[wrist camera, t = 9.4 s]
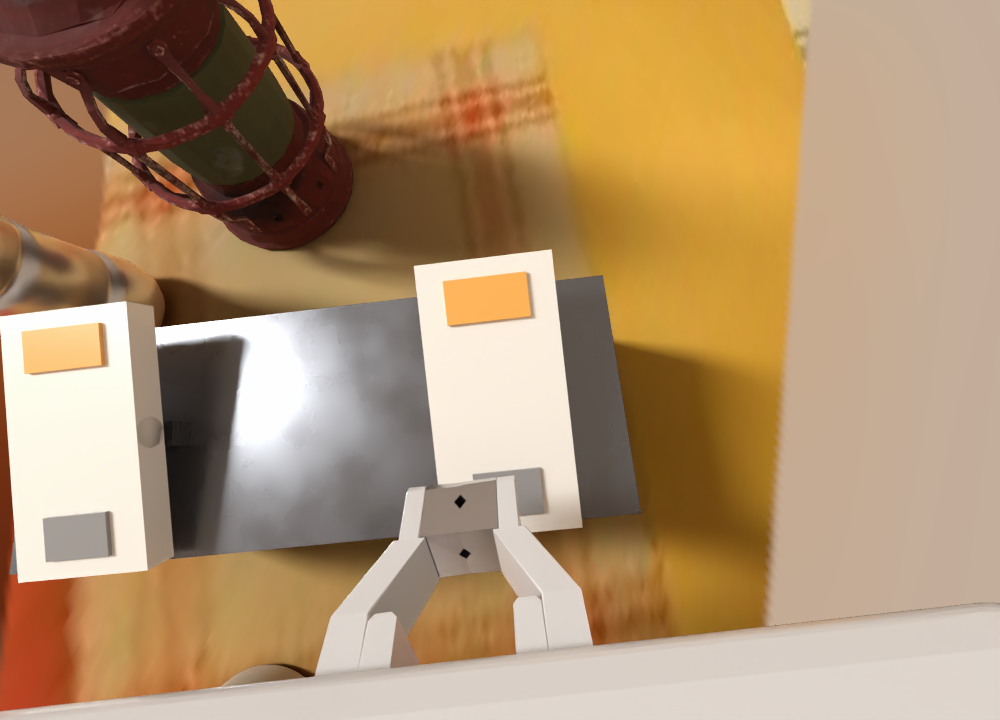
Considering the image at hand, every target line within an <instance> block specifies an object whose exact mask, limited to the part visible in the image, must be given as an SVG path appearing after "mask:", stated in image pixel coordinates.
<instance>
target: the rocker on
mask: <svg viewBox="0 0 1000 720" xmlns="http://www.w3.org/2000/svg"><path fill="white" fill-rule="evenodd" d="M414 272H415V281H416V290H417V299H418V308H419V317H420V326H421V335H422V344H423V353H424V362H425V372H426V381H427V390H428V399H429V408H430V417H431V426H432V435H433V444H434V453H435V462H436V471H437V480H438V485H440V484H451V483H462V482H465V481H472V480H480V479H488V478H495V477H496V478H497V477H505V476H513V475H514V476H515V481H516V488H517V495H518V503H519V510H520V517H521V525H522V526H526V527H527V528H528V529H529V530H530V532H541V531H551V530H562V529H572V528H583V526H582V518H581V509H580V500H579V491H578V482H577V473H576V464H575V455H574V446H573V437H572V428H571V419H570V410H569V401H568V392H567V383H566V375H565V366H564V357H563V348H562V339H561V330H560V321H559V312H558V303H557V294H556V285H555V276H554V267H553V258H552V249H551V250H543V251H534V252H526V253H518V254H510V255H501V256H493V257H485V258H476V259H468V260H460V261H452V262H443V263H435V264H427V265H418V266H414Z"/></svg>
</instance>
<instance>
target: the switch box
mask: <svg viewBox="0 0 1000 720" xmlns="http://www.w3.org/2000/svg"><path fill="white" fill-rule="evenodd" d="M555 285H556V294H557V303H558V312H559V321H560V330H561V339H562V348H563V357H564V366H565V375H566V383H567V392H568V401H569V410H570V419H571V428H572V437H573V446H574V455H575V464H576V473H577V482H578V491H579V500H580V509H581V518H582V519H589V518H600V517H610V516H620V515H631V514H641V509H640V503H639V497H638V491H637V484H636V478H635V472H634V466H633V460H632V454H631V447H630V441H629V435H628V429H627V423H626V416H625V410H624V404H623V398H622V392H621V386H620V379H619V373H618V367H617V361H616V355H615V349H614V342H613V336H612V330H611V324H610V318H609V311H608V305H607V299H606V293H605V287H604V281H603V275H601V276H592V277H584V278H575V279H567V280H558V281H555ZM155 332H156V344H157V356H158V368H159V380H160V392H161V404H162V416H163V429H164V441H165V453H166V465H167V477H168V489H169V501H170V513H171V525H172V537H173V550H174V557H172V558H170V559H176V558H186V557H197V556H207V555H217V554H228V553H238V552H248V551H259V550H269V549H279V548H290V547H300V546H310V545H321V544H331V543H341V542H352V541H362V540H372V539H383V538H393V537H399V534H400V528H401V522H402V516H403V511H404V505H405V499H406V493H407V491H408V489H409V488H412V487H421V486H430V485H438V480H437V471H436V462H435V453H434V444H433V435H432V426H431V417H430V408H429V399H428V390H427V381H426V372H425V362H424V353H423V344H422V335H421V326H420V317H419V308H418V299H417V297H414V298H406V299H397V300H389V301H380V302H372V303H363V304H355V305H346V306H338V307H329V308H321V309H312V310H304V311H295V312H287V313H278V314H270V315H261V316H253V317H244V318H236V319H227V320H219V321H210V322H202V323H194V324H185V325H177V326H168V327H160V328H155ZM11 574H18V572H17V558H16V543H15V536H14V544H13V552H12V560H11V568H10V575H11Z"/></svg>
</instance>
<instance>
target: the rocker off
mask: <svg viewBox="0 0 1000 720" xmlns="http://www.w3.org/2000/svg"><path fill="white" fill-rule="evenodd" d="M0 329H1V343H2V357H3V372H4V386H5V401H6V414H7V429H8V442H9V443H8V444H9V457H10V472H11V486H12V500H13V515H14V529H15V543H16V558H17V572H18V583H22V582H32V581H42V580H53V579H63V578H74V577H84V576H95V575H105V574H115V573H126V572H136V571H147V570H149V569H151V568H153V567H155V566H157V565H159V564H161V563H162V562H164V561H166V560H168V559H170V558H172V557H174V550H173V537H172V525H171V513H170V501H169V489H168V477H167V465H166V453H165V441H164V429H163V416H162V404H161V392H160V380H159V368H158V356H157V344H156V332H155V320H154V308H153V306H149V305H143V304H138V303H132V302H127V301H125V302H117V303H108V304H100V305H92V306H83V307H75V308H67V309H59V310H50V311H42V312H34V313H25V314H17V315H9V316H1V317H0Z"/></svg>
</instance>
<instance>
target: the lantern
mask: <svg viewBox="0 0 1000 720" xmlns="http://www.w3.org/2000/svg"><path fill="white" fill-rule="evenodd" d="M258 1H259V6H260V11H261V15H262V24H260V22H259V21H258V20H257V19H256V17H255V16H254V15H253V14H252V13H251V12H249V11H248V10H247V9H246V8H244V7H243V6H242V5H241V4H239V3H238V2H237V1H235V0H0V63H2V64H6V65H9V66H13V67H16V69H15V81H16V83H17V84H18V86H19V88H20V90H21V92H22V94H23V96H24V97H25V98H26V99H27V100H28V101H29V102H31V103H32V104H33V105H34V106H35V107H37V108H38V109H39V110H40V111H42V112H43V113H44V114H45V115H46V116H47V117H48V118H49V119H50V120H51V121H52V122H53V124H54V125H55V126H56V127H57V128H62V129H63V130H64V131H65V132H66V133H67V134H68V135H69V136H71V137H72V138H74V139H76V140H77V141H79V142H81V143H83V144H86V145H89V146H92V147H94V148H97V149H100V150H101V151H102V152H104V153H105V154H107V155H108V156H110V157H111V158H113V159H114V160H116V161H117V162H119V163H120V164H121V165H123V166H124V167H126V168H127V169H129V170H130V171H132V174H134V175H135V176H136V177H137V178H138V179H139V180H140V181H141V182H142V183H143V184H144V185H145V186H146V187H147V188H148V189H149V191H153V192H154V193H155V194H156V195H158V196H159V197H160V198H161V199H163V200H165V201H166V202H168V203H170V204H172V205H175V206H178V207H180V208H183V209H186V210H191V211H196V212H199V213H200V214H209V215H211V216H213V217H215V218H217V219H219V220H221V221H223V223H224V224H225V225H226V227H227V228H228V230H229V231H231V232H232V233H233V234H234V235H235V236H237V237H238V238H239V239H240V240H242V241H244V242H247V243H249V244H252V245H255V246H258V247H261V248H266V249H288V248H292V247H297V246H301V245H303V244H305V243H307V242H309V241H311V240H313V239H315V238H317V237H319V236H321V235H322V234H323V233H325V232H326V231H327V230H328V229H329V228H330V227H331V226H332V225H333V224H334V223H335V222H336V221H337V220H338V218H339V217H340V216H341V214H342V213H343V212H344V210H345V207H346V205H347V202H348V200H349V198H350V195H351V192H352V180H353V171H352V166H351V161H350V158H349V156H348V154H347V152H346V150H345V149H344V147H343V146H342V145H341V144H340V142H339V141H338V140H337V139H336V138H335V137H334V136H332V135H331V134H330V133H329V132H328V130H327V129H326V127H325V125H324V122H325V118H326V115H325V114H324V112H323V109H324V101H323V96H322V91H321V88H320V86H319V83H318V81H317V79H316V77H315V76H314V74H313V73H312V71H311V69H310V66H309V63H308V62H307V61H306V60H305V59H304V58H303V57H301V55H300V53H299V52H298V51H296V50H295V48H294V46H293V44H292V43H291V41H290V39H289V38H288V36H287V34H286V32H285V31H284V29H283V27H282V25H281V24H280V22H279V20H278V18H277V17H276V15H275V13H274V9H273V5H272V3H271V0H258ZM225 6H226V7H228V8H229V9H231V10H233V11H235V12H236V13H237V14H238V15H240V16H241V17H242V18H243V19H245V20H246V21H247V22H248V23H249V24H250V26H251V27H252V29H253V31H254V32H255V34H256V36H257V37H258V38H253V37H251V36H246V35H245V33H244V32H243V31H242V29H241V28H240V26H239V25H238V24H237V22H236V21H235V20H234V18H233V17H232V15H231V14H230V13H229V11H228V10H227V8H226V7H225ZM275 29H276V31H277V33H278V34H279V36H280V38H281V39H282V41H283V43H284V44H285V46H286V47H285V46H283V45H280V44H277V37H276V34H275V32H274V31H275ZM282 58H284V59H285V60H287V61H288V62H290V63H291V64H293V65H294V66H295V68H296V69H297V70H298V71H299V72H300V74H301V75H302V77H303V78H304V80H305V82H306V84H307V86H308V87H309V89H310V104H309V103H308V101H307V99H306V98H305V96H304V94H303V93H302V91H301V89H300V88H299V86H298V84H297V82H296V81H295V79H294V77H293V76H292V74H291V72H290V71H289V69H288V67H287V66H286V64H285V62H284V61H283V59H282ZM271 60H274V61H275V63H276V64H277V66H278V68H279V69H280V71H281V72H282V74H283V75H284V77H285V78H286V80H287V82H288V83H289V85H290V86H291V88H292V89H293V91H294V92H295V94H296V95H297V97H298V99H299V100H300V102H301V103H302V105H303V106H304V108H305V109H306V110H305V109H303V108H302V107H301V106H299V105H298V104H297V103H295V102H294V101H292V100H290V99H288V98H287V97H286V95H285V93H284V92H283V90H282V88H281V86H280V84H279V83H278V81H277V79H276V78H275V76H274V75H273V73H272V72H271V70H270V68H269V67H268V65H269V63H270V61H271ZM26 70H34V75H35V83H36V92H37V95H38V96H37V95H35V94H34V93H33V92H32V90H31V88H30V86H29V84H28V82H27V78H26ZM51 76H53V77H54V78H56V79H58V80H60V81H62V82H64V83H66V84H67V85H70V86H71V87H73V88H75V89H77V90H79V91H80V93H81V96H82V98H83V101H84V103H85V106H86V108H87V110H88V113H89V114H90V116H91V117H92V119H93V120H94V122H95V124H96V125H97V127H98V128H99V130H100V131H101V132H102V133H103V134H104V135H105V136H106V137H107V138H106V137H100V136H98V135H95V134H93V133H90V132H87V131H85V130H84V129H82V128H81V127H80V126H78V125H77V124H78V123H77V122H75V121H74V120H73V119H71V118H70V117H69V116H68V115H67V114H65V112H64V111H63V110H62V108H61V107H60V105H59V104H58V102H57V100H56V98H55V97H54V95H53V92H52V84H51ZM93 95H94V96H95V97H96V98H97V99H98V100H100V101H101V102H102V103H103V104H104V105H105V106H106V107H108V108H109V109H110V110H111V111H112V112H114V113H115V114H116V115H117V116H118V117H119V118H121V119H122V120H123V121H124V122H125V123H126V124H128V134H129V138H127V136H126V135H124V134H123V133H121V132H120V131H119V130H117V129H116V128H114V127H113V126H111V125H109V124H108V123H107V122H106V120H105V119H104V117H103V116H102V114H101V112H100V111H99V109H98V107H97V104H96V102H95V99H94V96H93ZM142 137H143V138H142ZM154 151H159V152H161V153H162V154H163V155H164V156H165V157H167V158H168V159H169V160H170V161H172V162H173V163H174V164H176V165H177V166H179V167H180V168H182V169H183V170H185V171H186V172H188V173H189V174H191V176H192V179H193V181H194V183H195V185H196V187H197V188H198V190H199V191H200V193H201V194H202V196H203V197H204V198H203V197H202V196H200V195H199V194H197V193H196V192H195V191H193V190H192V189H191V188H189V187H188V186H187V185H185V184H184V183H183V182H181V181H180V180H179V179H177V178H176V177H175V176H174V175H172V174H171V173H170V172H168V171H167V170H166V169H164V168H163V167H162V166H160V165H159V164H158V163H156V162H155V161H154V160H152V159H151V158H150V157H149V156H147V154H146V153H148V152H154ZM117 153H122V154H128V155H130V156H131V157H132V163H133V165H132V164H131V163H129V162H128V161H127V160H125V159H124V158H123V157H121V156H120V155H118V154H117ZM146 165H147V166H148V167H149V168H151V169H152V170H154V171H155V172H156V173H158V174H159V175H161V176H162V177H163V178H165V179H166V180H168V181H169V182H170V183H172V184H173V185H174V186H176V187H177V188H179V189H180V190H181V191H183V192H184V193H186V194H180V193H174V192H172V191H171V190H169V189H168V188H166V187H165V186H164V185H163V184H162V183H160V182H158V181H157V180H156V179H155V178H154V176H153V175H152V174H151V172H150V171H149V169H148V168H147V166H146Z"/></svg>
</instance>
